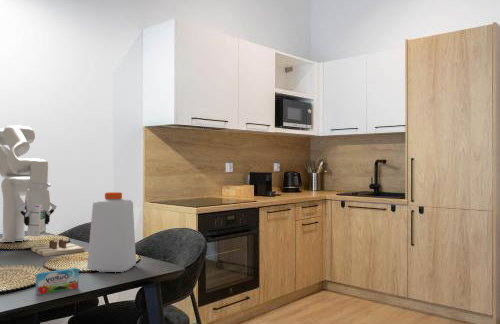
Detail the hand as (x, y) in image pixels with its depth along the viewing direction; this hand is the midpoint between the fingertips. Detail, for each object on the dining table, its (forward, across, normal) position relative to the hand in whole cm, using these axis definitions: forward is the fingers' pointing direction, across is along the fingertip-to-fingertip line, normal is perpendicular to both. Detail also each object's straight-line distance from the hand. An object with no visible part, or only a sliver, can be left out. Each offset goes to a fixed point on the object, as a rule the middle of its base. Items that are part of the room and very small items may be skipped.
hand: (36, 224), depth 206 cm
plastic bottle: (+8, -8, +62) cm, 63 cm away
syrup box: (+5, 0, 0) cm, 5 cm away
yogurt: (+7, +17, +80) cm, 82 cm away
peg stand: (+10, -4, +16) cm, 19 cm away
